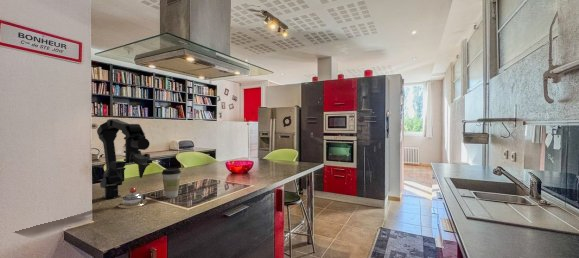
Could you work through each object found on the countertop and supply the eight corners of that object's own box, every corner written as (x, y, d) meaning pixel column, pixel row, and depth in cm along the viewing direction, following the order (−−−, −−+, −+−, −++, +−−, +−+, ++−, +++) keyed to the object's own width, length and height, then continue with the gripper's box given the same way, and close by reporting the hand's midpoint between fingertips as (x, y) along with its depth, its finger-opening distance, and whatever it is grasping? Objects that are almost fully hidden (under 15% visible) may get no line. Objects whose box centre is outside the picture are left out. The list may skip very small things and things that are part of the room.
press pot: (112, 206, 121) (112, 198, 121) (137, 199, 132) (137, 192, 132) (129, 209, 116) (128, 201, 116) (152, 202, 128) (152, 194, 128)
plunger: (122, 196, 122) (122, 188, 122) (134, 193, 128) (134, 185, 128) (131, 198, 120) (130, 189, 120) (142, 195, 125) (142, 186, 125)
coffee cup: (175, 198, 133) (175, 171, 133) (157, 198, 133) (157, 171, 133) (184, 193, 143) (184, 168, 143) (167, 193, 143) (167, 167, 143)
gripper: (123, 151, 113) (123, 185, 113) (159, 147, 130) (159, 177, 130) (108, 150, 117) (108, 182, 117) (145, 147, 134) (145, 175, 135)
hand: (132, 179), depth 125 cm, fingers open, 9 cm apart
